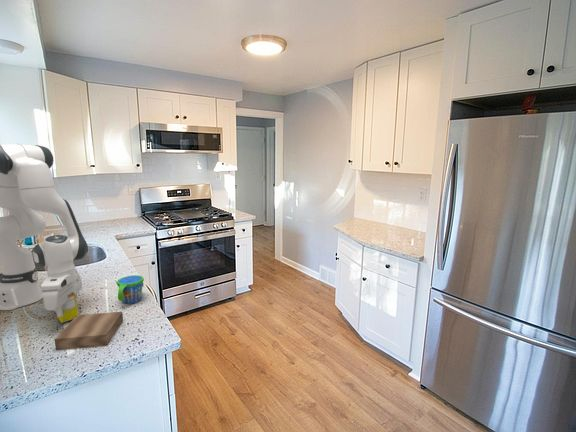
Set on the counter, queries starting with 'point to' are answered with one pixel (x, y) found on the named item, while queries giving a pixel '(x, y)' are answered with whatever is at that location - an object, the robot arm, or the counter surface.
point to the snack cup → (130, 288)
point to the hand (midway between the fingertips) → (67, 309)
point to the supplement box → (69, 309)
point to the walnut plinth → (89, 330)
